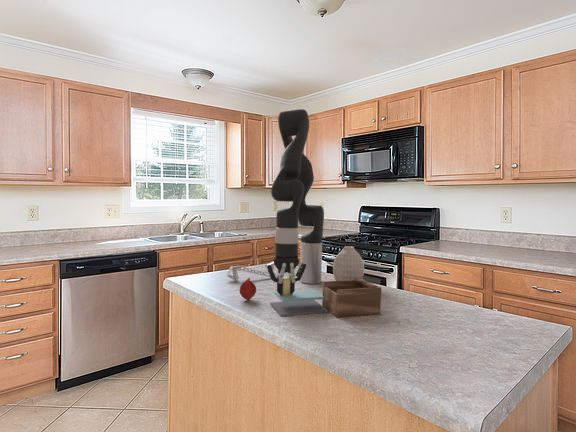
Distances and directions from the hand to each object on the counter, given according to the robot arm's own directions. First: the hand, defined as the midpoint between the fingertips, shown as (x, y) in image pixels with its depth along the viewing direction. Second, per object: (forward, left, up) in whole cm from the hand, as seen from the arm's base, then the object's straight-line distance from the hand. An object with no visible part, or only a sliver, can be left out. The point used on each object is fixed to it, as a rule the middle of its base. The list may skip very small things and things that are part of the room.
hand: (285, 293), depth 120 cm
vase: (-23, +34, -5) cm, 42 cm away
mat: (0, +5, -5) cm, 7 cm away
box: (+6, +21, -5) cm, 22 cm away
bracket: (-45, -1, -6) cm, 45 cm away
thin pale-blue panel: (0, +5, -1) cm, 5 cm away
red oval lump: (-13, -10, -5) cm, 17 cm away
